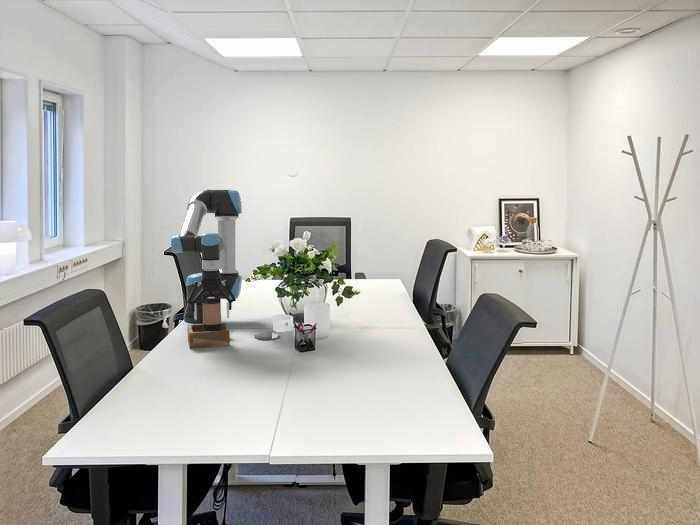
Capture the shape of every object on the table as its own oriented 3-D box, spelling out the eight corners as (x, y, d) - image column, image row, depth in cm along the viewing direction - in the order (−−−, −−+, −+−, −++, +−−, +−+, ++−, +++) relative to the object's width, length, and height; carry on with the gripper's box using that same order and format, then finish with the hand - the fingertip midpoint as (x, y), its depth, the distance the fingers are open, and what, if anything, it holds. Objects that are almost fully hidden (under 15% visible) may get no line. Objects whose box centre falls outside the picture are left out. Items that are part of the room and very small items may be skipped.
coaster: (252, 334, 268) (252, 332, 268) (276, 333, 272) (276, 331, 272) (256, 341, 258) (256, 339, 258) (281, 339, 261) (281, 337, 261)
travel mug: (219, 344, 252) (218, 298, 249) (201, 344, 252) (200, 298, 249) (223, 339, 259) (222, 295, 256) (206, 339, 259) (205, 294, 256)
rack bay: (187, 339, 259) (187, 324, 258) (225, 336, 265) (225, 322, 264) (189, 348, 245) (189, 333, 244) (229, 345, 250) (229, 330, 250)
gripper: (180, 271, 244) (182, 322, 246) (241, 269, 251) (242, 318, 254) (180, 269, 251) (181, 318, 253) (239, 267, 258) (239, 314, 261)
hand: (211, 318), depth 254 cm, fingers open, 13 cm apart
